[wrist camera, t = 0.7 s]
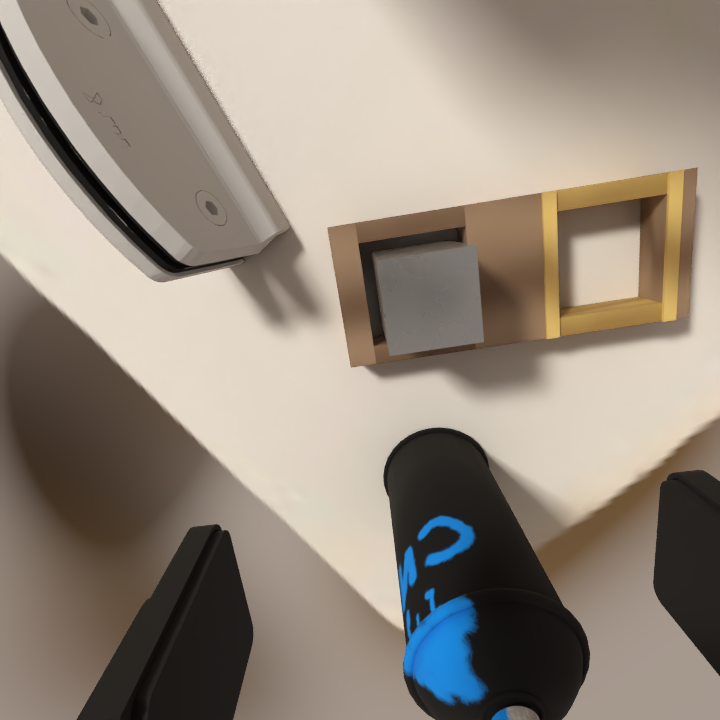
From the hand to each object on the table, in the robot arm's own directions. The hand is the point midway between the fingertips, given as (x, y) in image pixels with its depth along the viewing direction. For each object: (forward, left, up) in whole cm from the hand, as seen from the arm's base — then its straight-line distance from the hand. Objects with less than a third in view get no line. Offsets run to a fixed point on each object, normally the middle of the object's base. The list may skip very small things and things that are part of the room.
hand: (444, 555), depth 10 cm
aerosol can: (+12, +2, -23) cm, 26 cm away
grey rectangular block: (-3, +2, -23) cm, 23 cm away
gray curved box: (-14, -12, -23) cm, 29 cm away
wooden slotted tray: (-3, +8, -23) cm, 24 cm away
